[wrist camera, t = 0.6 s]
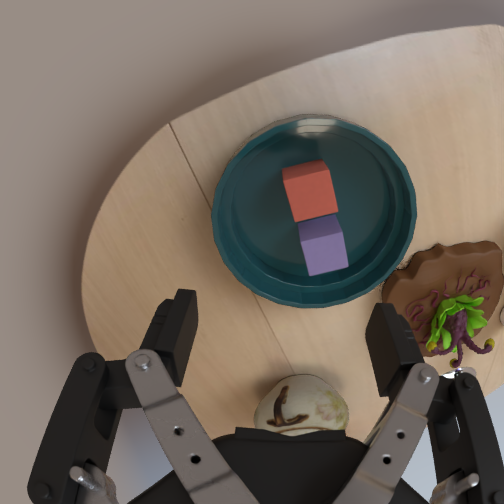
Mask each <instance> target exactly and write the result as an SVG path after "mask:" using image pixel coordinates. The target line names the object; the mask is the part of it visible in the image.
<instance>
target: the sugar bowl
mask: <svg viewBox="0 0 504 504" xmlns="http://www.w3.org/2000/svg"><path fill="white" fill-rule="evenodd" d="M348 422H349V409H348V406H347V404H346V402H345V401H344V399H343V398H342V397H341V396H340V395H339V394H338V393H337V392H336V391H335V390H334V389H333V388H331V387H330V386H329V385H328V384H326V383H325V382H324V381H323V380H322V379H321V378H319V377H316V376H312V375H296V376H290V377H287V378H285V379H282V380H281V381H280V382H278V384H277V385H276V386H275V387H274V388H273V389H272V390H271V391H270V392H269V393H268V394H267V395H266V396H265V397H264V398H263V399H262V401H261V402H260V403H259V405H258V407H257V409H256V411H255V414H254V425H255V429H265V430H269V431H272V432H276V433H280V434H283V435H287V436H297V435H301V434H306V433H310V432H314V431H318V430H342V429H346V427H347V425H348Z"/></svg>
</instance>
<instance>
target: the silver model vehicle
mask: <svg viewBox="0 0 504 504" xmlns="http://www.w3.org/2000/svg"><path fill="white" fill-rule="evenodd" d="M461 372H468V373H470V374H472V375H473V376H475V377H476V371H475V369H473V368H472V367H463V368H458V369H455V370H452V371H450V372H447V373H445V374H443V375H441V376H442V377H447V378H452V379H454V378H455V377H456V376H457V375H458V374H459V373H461Z"/></svg>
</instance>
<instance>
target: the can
mask: <svg viewBox="0 0 504 504" xmlns="http://www.w3.org/2000/svg"><path fill="white" fill-rule="evenodd" d="M500 321H501V323H502V324H503V326H504V307H503V309H502V311H501V314H500Z"/></svg>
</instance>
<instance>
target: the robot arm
mask: <svg viewBox="0 0 504 504" xmlns="http://www.w3.org/2000/svg"><path fill="white" fill-rule="evenodd" d="M197 327H198V307H197V296H196V291H195V290H188V289H178V290H177V293H176V295H175V298H174V300H173V299H165V300H164V301H163V302H162V303H161V304H160V305H159V306H158V308H157V310H156V312H155V316H154V317H153V319H152V321H151V323H150V326H149V328H148V330H147V332H146V335H145V337H144V339H143V342H142V344H141V346H140V348H139V350H136V351H134V352H132V353H131V354H130V355H129V356H128V357H127V359H124V360H114V361H105V359H104V358H103V357H102V356H101V355H100V354H98V353H94V352H89V353H85V354H83V355H81V356H80V357H79V358H77V360H76V361H75V363H74V365H73V367H72V369H71V372H70V374H69V376H68V378H67V380H66V383H65V385H64V387H63V390H62V392H61V394H60V396H59V399H58V401H57V404H56V406H55V408H54V411H53V413H52V416H51V418H50V421H49V423H48V426H47V428H46V431H45V434H44V437H43V439H42V442H41V445H40V448H39V450H38V453H37V457H36V459H35V462H34V465H33V468H32V472H31V475H30V478H29V482H28V486H27V491H28V495H29V498H30V499H31V501H32V502H33V503H34V504H119V503H118V501H117V499H116V486H115V484H114V482H113V480H112V479H111V478H110V477H109V476H107V475H106V470H107V466H108V462H109V458H110V454H111V450H112V446H113V442H114V439H115V435H116V431H117V428H118V424H119V421H120V417H121V414H122V410H123V409H129V408H143V410H144V413H145V415H146V417H147V419H148V421H149V423H150V425H151V427H152V429H153V431H154V433H155V435H156V437H157V439H158V441H159V443H160V445H161V447H162V449H163V451H164V453H165V454H166V456H167V458H168V460H169V462H170V464H171V465H172V467H173V469H174V470H172V471H171V472H170V473H169V474H167V475H166V476H165V477H163V478H162V479H161V480H159V481H158V482H157V483H155V484H154V485H153V486H151V487H150V488H148V489H147V490H145V491H144V492H143V493H141V494H140V495H138V496H137V497H135V498H134V499H133V500H131V501H130V502H128V503H127V504H429V503H428V502H427V501H426V500H425V499H424V498H423V497H422V496H421V495H420V494H418V493H417V492H416V491H415V490H414V489H413V488H412V487H411V486H410V485H409V484H407V483H406V482H405V481H404V480H403V479H402V478H401V476H402V474H403V472H404V471H405V469H406V467H407V465H408V463H409V461H410V459H411V457H412V455H413V453H414V451H415V449H416V447H417V445H418V442H419V440H420V438H421V436H422V434H423V431H424V429H425V427H426V424H427V425H428V430H429V435H430V441H431V446H432V452H433V458H434V465H435V471H436V479H437V486H436V487H435V488H434V490H433V492H432V497H431V498H430V504H504V466H503V461H502V457H501V453H500V449H499V445H498V441H497V437H496V434H495V431H494V427H493V423H492V420H491V417H490V414H489V411H488V408H487V404H486V402H485V399H484V396H483V393H482V390H481V387H480V385H479V382H478V380H477V379H476V377H475V376H473V375H472V374H470V373H468V372H461V373H459V374H458V375H457V376H456V377H455V378H454V379H452V378H447V377H442V376H439V375H438V372H437V371H436V369H435V368H434V367H432V366H431V365H429V364H426V363H425V361H424V359H423V356H422V354H421V351H420V348H419V346H418V343H417V341H416V339H415V336H414V334H413V332H412V329H411V327H410V324H409V322H408V321H407V320H406V319H405V318H404V317H403V316H402V314H397V312H396V309H395V307H394V305H393V304H392V303H376V304H375V306H374V309H373V312H372V314H371V317H370V319H369V322H368V325H367V327H366V333H365V338H366V343H367V346H368V350H369V354H370V358H371V362H372V366H373V370H374V374H375V378H376V383H377V387H378V391H379V396H380V397H386V396H389V402H388V404H387V405H386V407H385V409H384V411H383V412H382V414H381V416H380V417H379V419H378V421H377V423H376V424H375V426H374V427H373V429H372V431H371V432H370V434H369V435H368V437H367V438H366V439H365V441H364V442H363V443H362V442H361V441H359V440H356V439H354V438H351V437H347V436H346V434H345V429H342V430H318V431H314V432H310V433H306V434H301V435H297V436H287V435H283V434H280V433H276V432H272V431H269V430H265V429H255V428H242V427H236V429H235V433H234V434H228V435H224V436H221V437H218V438H215V439H213V440H211V439H210V438H209V436H208V435H207V433H206V432H205V430H204V428H203V427H202V425H201V424H200V422H199V421H198V419H197V417H196V416H195V414H194V412H193V411H192V409H191V408H190V406H189V404H188V402H187V401H186V399H185V398H184V396H183V395H182V394H180V393H179V392H178V390H177V388H176V387H181V385H182V382H183V378H184V374H185V371H186V367H187V363H188V360H189V356H190V352H191V349H192V345H193V342H194V338H195V335H196V331H197ZM175 386H176V387H175ZM456 417H457V420H458V424H459V428H460V432H459V429H458V424H457V421H456Z"/></svg>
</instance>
